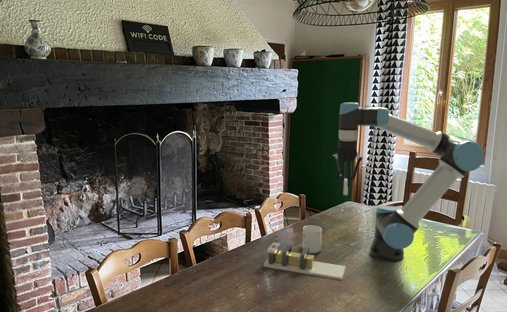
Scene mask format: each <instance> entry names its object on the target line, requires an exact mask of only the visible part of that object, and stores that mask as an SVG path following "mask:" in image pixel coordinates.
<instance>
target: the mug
mask: <svg viewBox="0 0 507 312" xmlns="http://www.w3.org/2000/svg"><path fill="white" fill-rule="evenodd" d="M322 232H323V229H322V227H321V226H318V225H315V224H314V225H310V224H309V225H304V226H303V227H302V250H303V249H304V248H305V247H307V248H309V254H311V255H313V254H317V253H319V252H321V250H322V236H323V235H322Z"/></svg>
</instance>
